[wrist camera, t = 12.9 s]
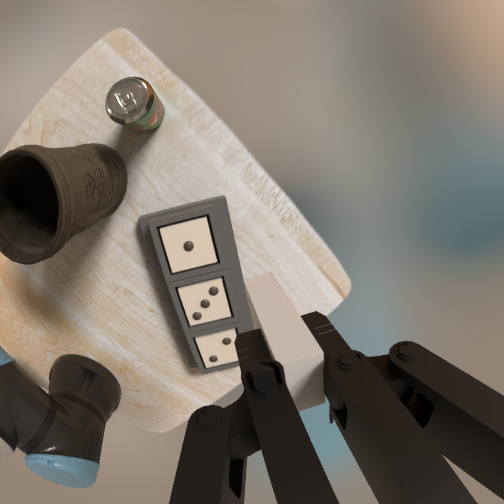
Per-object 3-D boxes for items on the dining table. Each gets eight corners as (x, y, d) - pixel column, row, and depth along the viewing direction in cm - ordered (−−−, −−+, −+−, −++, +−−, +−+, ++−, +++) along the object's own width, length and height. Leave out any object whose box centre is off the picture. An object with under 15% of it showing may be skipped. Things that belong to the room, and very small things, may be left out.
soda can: (157, 91, 32) (142, 65, 21) (170, 122, 34) (160, 108, 23) (123, 107, 32) (95, 89, 21) (136, 139, 34) (112, 132, 23)
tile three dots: (190, 316, 42) (190, 326, 39) (178, 281, 40) (177, 290, 37) (229, 307, 42) (231, 316, 40) (219, 271, 40) (221, 279, 38)
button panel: (190, 360, 47) (191, 377, 43) (140, 216, 37) (134, 223, 33) (257, 344, 48) (263, 360, 44) (224, 195, 39) (227, 200, 35)
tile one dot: (173, 265, 39) (172, 273, 36) (161, 224, 36) (159, 229, 34) (215, 255, 39) (217, 262, 37) (205, 213, 37) (206, 217, 35)
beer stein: (120, 129, 33) (39, 117, 14) (143, 201, 37) (82, 251, 18) (37, 172, 33) (-56, 199, 14) (59, 236, 37) (-20, 297, 18)
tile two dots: (205, 358, 45) (206, 368, 42) (194, 329, 43) (195, 339, 40) (240, 349, 45) (243, 359, 43) (232, 320, 43) (235, 330, 41)
